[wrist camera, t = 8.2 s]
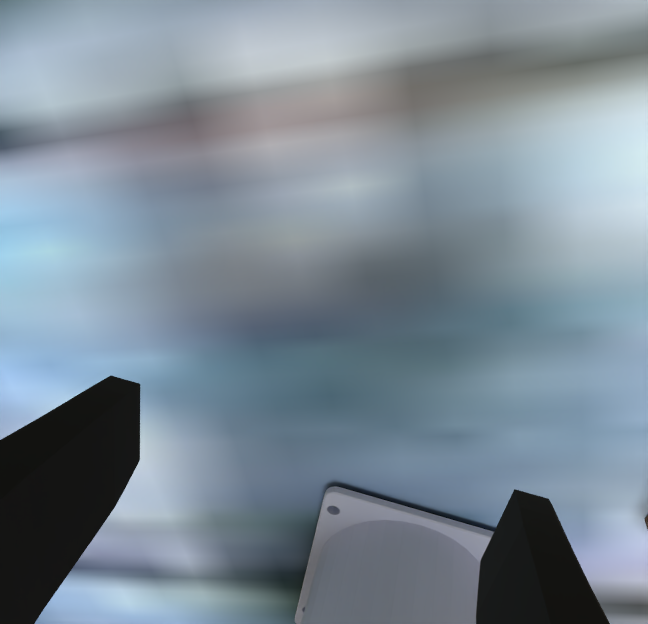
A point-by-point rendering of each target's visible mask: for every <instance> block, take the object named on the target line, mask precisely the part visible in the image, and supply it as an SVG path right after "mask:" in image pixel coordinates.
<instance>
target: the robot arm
mask: <svg viewBox="0 0 648 624" xmlns="http://www.w3.org/2000/svg"><path fill="white" fill-rule="evenodd" d="M139 460H140V384H139V383H135V382H131V381H128V380H124V379H121V378H117V377H114V376H109V377H108V378H106V379H104V380H102V381H101V382H99V383H97V384H95V385H94V386H92V387H90V388H89V389H87V390H85V391H84V392H82V393H80V394H79V395H77V396H75V397H74V398H72V399H70V400H69V401H67V402H65V403H64V404H62V405H60V406H59V407H57V408H55V409H54V410H52V411H50V412H48V413H47V414H45V415H43V416H42V417H40V418H38V419H36V420H35V421H33V422H31V423H29V424H28V425H26V426H24V427H22V428H21V429H19V430H17V431H16V432H14V433H12V434H10V435H9V436H7V437H5V438H3V439H1V440H0V624H34V623H35V622H36V620H37V619H38V617H39V615H40V614H41V612H42V611H43V609H44V608H45V606H46V605H47V603H48V602H49V601H50V599H51V598H52V596H53V595H54V593H55V592H56V591H57V589H58V588H59V586H60V585H61V584H62V582H63V581H64V579H65V578H66V576H67V575H68V574H69V572H70V571H71V569H72V568H73V566H74V565H75V564H76V562H77V561H78V559H79V558H80V556H81V555H82V554H83V552H84V551H85V549H86V548H87V546H88V545H89V544H90V542H91V541H92V539H93V538H94V536H95V535H96V534H97V532H98V531H99V529H100V528H101V526H102V525H103V523H104V522H105V521H106V519H107V518H108V516H109V515H110V513H111V512H112V510H113V509H114V507H115V506H116V504H117V502H118V500H119V498H120V496H121V495H122V493H123V491H124V489H125V487H126V486H127V484H128V482H129V480H130V478H131V476H132V474H133V472H134V470H135V468H136V466H137V464H138V462H139ZM333 506H336V507H338V508H336V507H333ZM295 622H296V624H610V623H609V621H608V619H607V617H606V616H605V614H604V612H603V610H602V608H601V606H600V604H599V602H598V600H597V598H596V596H595V594H594V592H593V591H592V589H591V587H590V585H589V583H588V581H587V578H586V576H585V574H584V572H583V570H582V568H581V566H580V564H579V562H578V560H577V558H576V556H575V554H574V552H573V549H572V547H571V545H570V543H569V541H568V539H567V536H566V534H565V532H564V530H563V528H562V526H561V523H560V521H559V519H558V517H557V515H556V512H555V510H554V508H553V506H552V504H551V502H550V501H549V499H547V498H543V497H540V496H536V495H533V494H529V493H526V492H522V491H519V490H515V489H514V492H513V494H512V496H511V498H510V500H509V502H508V504H507V506H506V508H505V510H504V512H503V514H502V517H501V519H500V521H499V523H498V525H497V527H496V529H495V531H494V532H493V531H490V530H486V529H483V528H479V527H476V526H472V525H469V524H465V523H462V522H458V521H455V520H452V519H448V518H445V517H441V516H438V515H434V514H431V513H427V512H424V511H420V510H417V509H414V508H410V507H407V506H403V505H400V504H396V503H393V502H389V501H386V500H382V499H379V498H376V497H372V496H369V495H365V494H362V493H358V492H355V491H351V490H348V489H344V488H341V487H336V486H334V487H330V488H328V489H327V490H326V492H325V495H324V499H323V503H322V507H321V511H320V515H319V519H318V523H317V528H316V532H315V536H314V540H313V544H312V548H311V552H310V557H309V561H308V565H307V569H306V573H305V577H304V581H303V586H302V590H301V594H300V598H299V602H298V606H297V611H296V615H295Z"/></svg>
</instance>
